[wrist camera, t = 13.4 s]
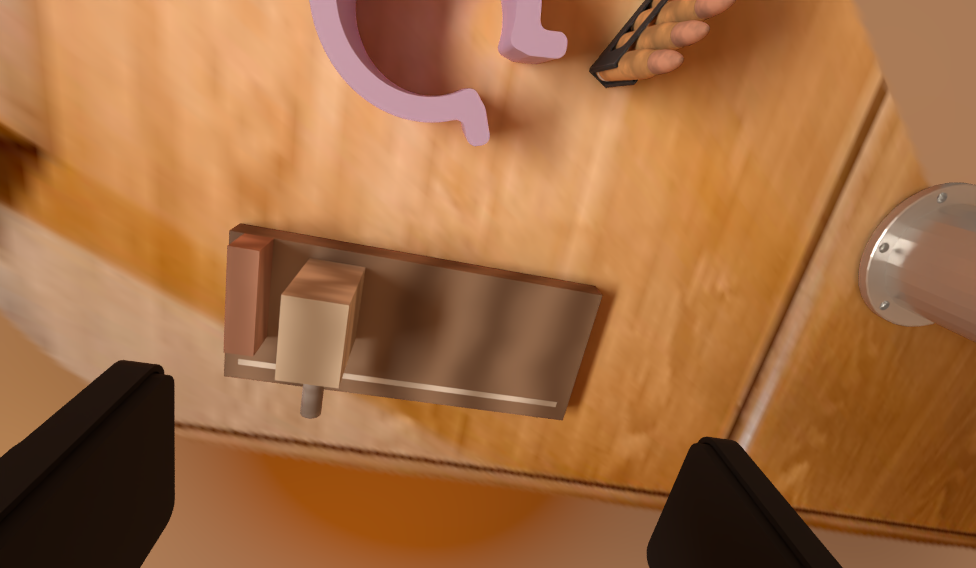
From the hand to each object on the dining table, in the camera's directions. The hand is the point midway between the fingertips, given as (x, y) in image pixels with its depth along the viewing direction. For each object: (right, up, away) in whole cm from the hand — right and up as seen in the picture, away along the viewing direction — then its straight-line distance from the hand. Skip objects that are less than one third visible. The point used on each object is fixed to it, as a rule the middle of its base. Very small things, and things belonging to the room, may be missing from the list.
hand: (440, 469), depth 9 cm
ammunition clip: (+12, +22, +25) cm, 36 cm away
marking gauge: (-11, 0, +29) cm, 31 cm away
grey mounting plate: (-5, 0, +32) cm, 33 cm away
